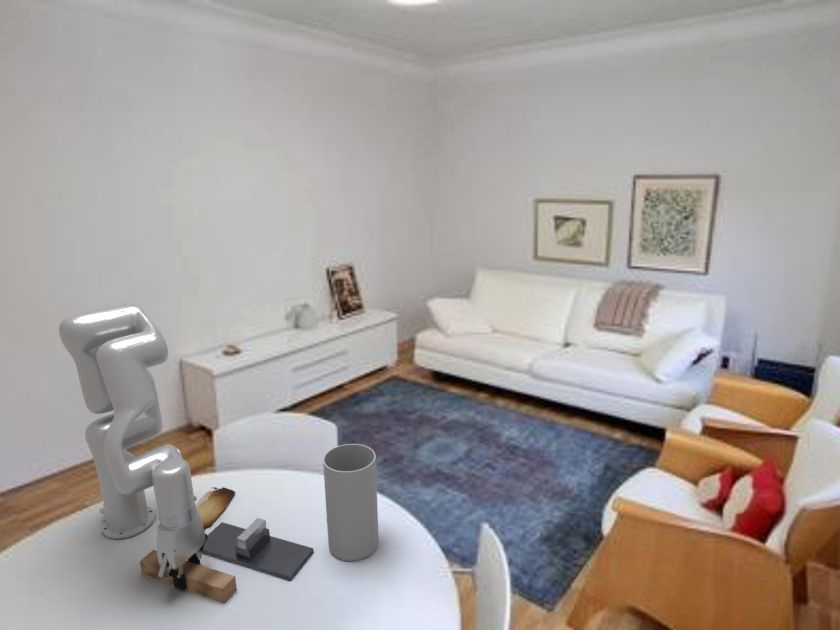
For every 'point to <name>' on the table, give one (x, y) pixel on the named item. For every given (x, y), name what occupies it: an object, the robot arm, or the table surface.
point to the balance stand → (257, 549)
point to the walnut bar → (195, 578)
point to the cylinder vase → (351, 501)
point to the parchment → (213, 505)
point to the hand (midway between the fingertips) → (188, 580)
